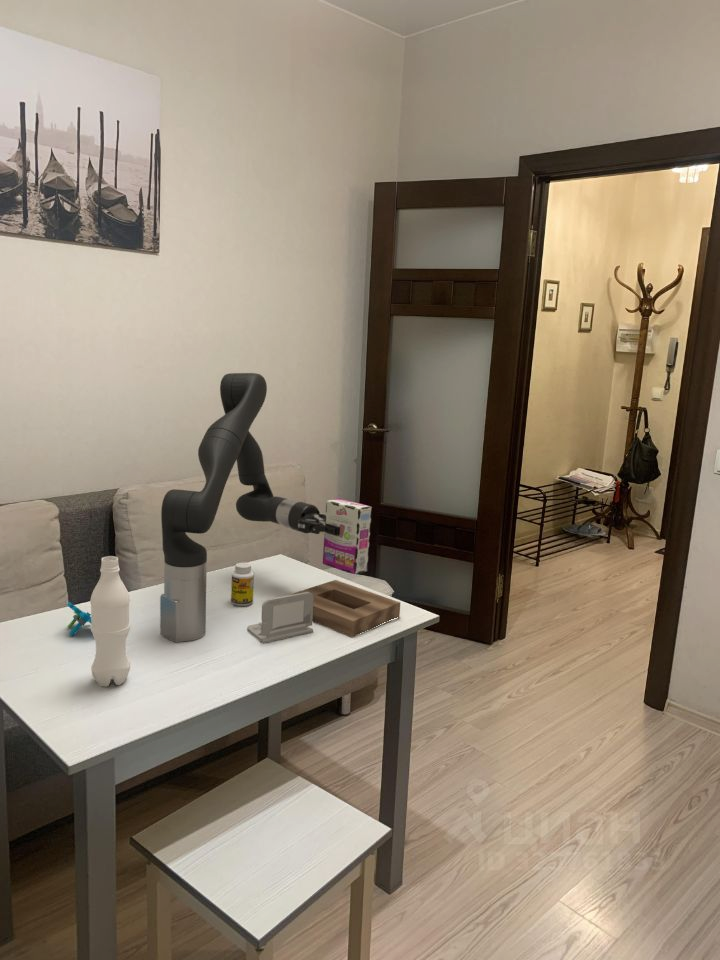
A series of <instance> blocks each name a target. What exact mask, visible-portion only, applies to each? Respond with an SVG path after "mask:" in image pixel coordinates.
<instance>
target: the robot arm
mask: <svg viewBox="0 0 720 960" xmlns="http://www.w3.org/2000/svg"><path fill="white" fill-rule="evenodd" d="M267 391H268V388H267V382H266V378H265V377H264V376H263V375H262V374H260V373H255V372H235V373H234V372H230V373H225V374H224V375H223V377H222V378H221V381H220V386H219V392H220V393H219V395H220V398H221V400H220V401H221V406H222V409H223V412H224V415H223V416H221V417H220V418H218V419H216V420H215V421H214V422H213V423H212V424H211V425H210V426H209V427H208V428H207V430H206V432H205V434H204V435H203V438H202V439H201V442H200V444H199V447H198V449H197V450H198V452H197V454H198V455H197V457H198V461H199V463H200V467H201V469H202V472H203V474H204V478H205V484H204V486H203V488H202V490H200V491H195V490H185V489H170V490H168V491H167V492H166V493H165V495H164V496H163V499H162V503H161V511H160V514H161V515H160V516H161V517H160V518H161V519H160V520H161V533H162V539H161V540H162V552H163V555H164V557H163V558H164V560H163V561H164V562H163V563H164V568H163V569H164V570H163V571H164V572H163V574H164V577H163V579H164V581H163V582H164V583H163V587H164V588H163V589H164V590H163V591H164V592H163V593H162V594H160V598H159V599H160V601H159V602H160V603H159V604H160V605H159V606H160V607H159V609H160V610H159V614H160V617H159V618H160V619H159V623H160V624H159V625H160V627H159V635H161V636H162V637H164V638H167V639H168V640H170V641H172V642H174V643H179V642H189V641H195V640H198V639H201V638H202V637H204V636H205V635H206V629H207V628H206V626H207V619H206V618H207V569H208V567H207V565H208V553H207V552H208V551H207V549H206V548H205V547H204V546H203V545H202V544H200V543H198V542H196V541H195V540H193V539H192V538H190V537H189V536H188V534H200V535H201V534H205V533H207V532H208V531H209V530H210V528H211V527H212V525H213V523H214V521H215V518H216V515H217V512H218V509H219V505H220V503H221V500H222V496H223V493H224V490H225V488H226V484H227V482H228V480H229V477H230V475H231V472H232V470H233V468H234V465H235V464H236V466H237V475H238V480H239V482H240V483H241V484H242V485H243V486H252V488H253V490H251V491H249V492H247V493H244V494H242V495H240V496H239V497H238V498H237V500H236V502H235V507H236V512H237V513H238V514H239V516H240V517H241V518H243V519H245V520H247V521H250V522H270V523H274V524H276V525H277V524H278V525H281V526H282V527H285V528H287V529H290V530H294V531H297V532H300V533H303V534H315V535H319V534H320V533H321V534H323V535H324V534H325V533H328V534H332V535H335V536H338V535H339V534H340V528H339V527H338V526H335V525H331V524H327V523H326V522H325V516H326V512H324V513H323V512H320V510H319V509H318V507H317V506H315V505H314V504H311V503H307V502H303V501H300V500H296V499H288V498H285V497H280V496H277V495H276V496H274V494H273V491H272V488H271V486H270V484H269V481H268V479H267V476H266V474H265V473H266V472H265V471H266V470H265V465H264V455H263V452H262V449H261V446H260V445H259V443H258V442H257V440H256V439H255V437H254V436H253V435H252V433H251V432H250V428H251V426H252V424H253V422H254V421H255V419H256V417H257V416H258V415H259V412H260V411H261V409H262V407H263V405H264V403H265V400H266V397H267ZM187 533H188V534H187Z"/></svg>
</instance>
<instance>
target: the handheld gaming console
mask: <svg viewBox="0 0 720 960" xmlns="http://www.w3.org/2000/svg"><path fill="white" fill-rule="evenodd" d="M287 595H288V596H287ZM287 595H283V596H278V597H274V598H273V597H272V598H268V599H266V600H265V601H264V602H263V603H262V605H261V622H258V623H254V624H250V625H248V626H247V627H246V630H247V632H248V633H249V634H250V635H252V636H253V637H255V639H257V640H258V641H259V642H260V643H262V644H268V643H271V642H276V641H280V640H284V639H289V638H290V639H291V638H294V637H298V636H303V635H307V634H311V633H314V629H313V628H312V626H313V621H312V620H313V595H312V594H311V593H309V592H304V593H299V594H293V595H289V594H287Z"/></svg>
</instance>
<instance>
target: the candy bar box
mask: <svg viewBox="0 0 720 960" xmlns="http://www.w3.org/2000/svg"><path fill="white" fill-rule="evenodd" d="M372 508H373V506H370V505H366V504H363V503H359V502H355V501H350V500H346V499H341V498H335V499H329V500H326V501H325V514H326V516H325V522H326V523H327V524H331V525H335V526H338V527H339V528H340V534H339V535H338V536H335V535H332V534H328V533H325V534H323V535H324V536H323V550H322V551H323V552H322V564H323V565H324V566H328V567H331V568H334V569H336V570H341V571H343V572H346V573H350V574H352V575H358V574H361V573H365V572H368V570H369V569H368V567H369V555H370V554H369V553H370V538H371V537H370V536H371V524H372V510H373V509H372Z"/></svg>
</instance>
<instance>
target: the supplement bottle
mask: <svg viewBox="0 0 720 960" xmlns="http://www.w3.org/2000/svg"><path fill="white" fill-rule="evenodd" d="M254 584H255V573H254V572H253V571H252V564H251V563H248V562H238V563H236V564H235V567H234V571H232V572H231V589H230V591H231V592H230V602H231V604H232V605H234V606H237V607H247V606H250V605H252V604H253V602H254V588H255V587H254V586H255V585H254Z"/></svg>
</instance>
